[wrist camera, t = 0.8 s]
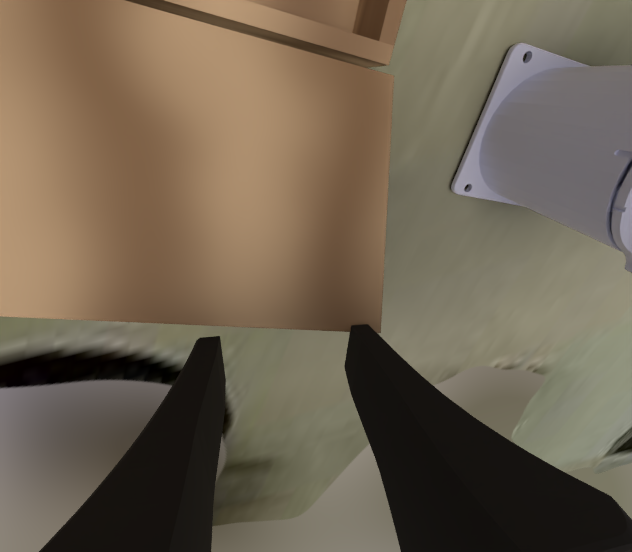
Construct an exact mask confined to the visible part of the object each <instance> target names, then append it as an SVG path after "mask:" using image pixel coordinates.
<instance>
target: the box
mask: <svg viewBox="0 0 632 552" xmlns="http://www.w3.org/2000/svg"><path fill="white" fill-rule="evenodd" d="M125 1H129V2H132V3H136V4H139V5H143V6H147V7H150V8H154V9H157V10H161V11H164V12H168V13H172V14H175V15H179V16H182V17H186V18H189V19H193V20H197V21H200V22H204V23H207V24H211V25H214V26H218V27H222V28H225V29H229V30H232V31H236V32H239V33H243V34H247V35H250V36H254V37H257V38H261V39H264V40H268V41H271V42H275V43H279V44H282V45H286V46H289V47H293V48H296V49H300V50H304V51H307V52H311V53H314V54H318V55H321V56H325V57H329V58H332V59H336V60H339V61H343V62H346V63H350V64H354V65H357V66H361V67H364V68H368V67H377V66H387V65H389V63H390V59H391V55H392V52H393V48H394V44H395V41H396V37H397V33H398V30H399V26H400V22H401V19H402V15H403V11H404V8H405V4H406V0H125Z"/></svg>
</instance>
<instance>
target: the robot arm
mask: <svg viewBox="0 0 632 552" xmlns="http://www.w3.org/2000/svg"><path fill="white" fill-rule="evenodd" d="M525 53H526V54H527V57H526V60H525V61H524V62H523V56H524V54H525ZM467 184H468V188H467V189H466V190H464V188H465V186H466V185H467ZM451 190H452V191H453V192H454V193H456V194H459V195H465V196H470V197H475V198H481V199H486V200H492V201H497V202H503V203H508V204H514V205H519V206H524V207H526V208H529V209H531V210H533V211H535V212H537V213H539V214H541V215H544V216H546V217H548V218H550V219H552V220H554V221H557V222H559V223H561V224H563V225H565V226H567V227H570V228H572V229H574V230H576V231H578V232H580V233H583V234H585V235H587V236H589V237H591V238H593V239H595V240H598V241H600V242H602V243H604V244H606V245H608V246H611V247H613V248H615V249H617V250H619V251H622V252H623V253H624V254H625V256H626V265H625V269H626V270H627V271H629V272H631V273H632V65H615V66H588V65H585V64H582V63H580V62H577V61H574V60H571V59H568V58H565V57H563V56H560V55H557V54H554V53H551V52H548V51H546V50H543V49H540V48H537V47H534V46H531V45H529V44H526V43H517V44H515V45H513V46H512V47H511V48H510V49H509V51H508V53H507V55H506V58H505V60H504V62H503V65H502V67H501V69H500V72H499V74H498V76H497V79H496V81H495V83H494V86H493V88H492V91H491V93H490V95H489V98H488V100H487V102H486V105H485V107H484V109H483V112H482V114H481V116H480V119H479V121H478V124H477V126H476V128H475V131H474V133H473V135H472V138H471V140H470V142H469V145H468V147H467V150H466V152H465V154H464V157H463V159H462V161H461V164H460V166H459V168H458V171H457V173H456V175H455V178H454V180H453V183H452V186H451ZM345 371H346V375H347V379H348V383H349V387H350V391H351V395H352V398H353V400H354V403H355V406H356V408H357V411H358V414H359V416H360V419H361V422H362V424H363V427H364V430H365V432H366V435H367V438H368V440H369V443H370V445H371V448H372V451H373V453H374V456H375V458H376V462H377V465H378V468H379V471H380V474H381V478H382V481H383V485H384V488H385V492H386V496H387V499H388V503H389V507H390V510H391V514H392V518H393V522H394V525H395V529H396V533H397V537H398V541H399V545H400V549H401V552H632V519H631V518H630V517H629V516H628V515H627V514H626V513H625V511H624V510H623V509H622V508H621V507H620V506H619V505H618V504H617V502H616V501H615V500H614V499H613V498H612V497H611V496H609V495H607V494H605V493H604V492H601V491H600V490H598V489H596V488H594V487H592V486H590V485H588V484H586V483H584V482H582V481H580V480H578V479H576V478H574V477H572V476H570V475H568V474H567V473H565V472H563V471H561V470H559V469H557V468H555V467H554V466H552V465H550V464H548V463H547V462H545V461H543V460H541V459H540V458H538V457H536V456H534V455H533V454H531V453H529V452H527V451H526V450H524V449H522V448H521V447H519V446H517V445H516V444H514V443H512V442H511V441H509V440H508V439H506V438H505V437H503V436H501V435H500V434H498V433H497V432H495V431H494V430H492V429H490V428H489V427H488V426H486V425H485V424H483V423H482V422H480V421H479V420H477V419H476V418H474V417H473V416H471V415H470V414H469V413H467V412H466V411H465V410H463V409H462V408H461V407H459V406H458V405H457V404H455V403H454V402H452V401H451V400H450V399H449V398H447V397H446V396H445V395H444V394H442V393H441V392H440V391H439V390H437V389H436V388H435V387H434V386H433V385H432V384H430V383H429V382H428V381H427V380H426V379H424V378H423V377H422V376H421V375H420V374H419V373H418V372H417V371H415V370H414V369H413V368H412V367H411V366H410V365H409V364H408V363H407V362H406V361H405V360H404V359H403V358H402V357H401V356H400V355H398V354H397V353H396V352H395V351H394V350H393V349H392V348H391V347H390V346H389V345H388V344H387V343H386V342H385V341H384V340H383V339H382V338H381V337H380V336H379V335H378V334H377V333H376V332H375V331H374V330H373V329H372V328H371V327H370V326H369V325H368V324H363V325H351V332H350V336H349V342H348V348H347V354H346V361H345ZM225 382H226V379H225V372H224V364H223V357H222V349H221V341H220V336H217V337H204V338H199V339H198V340H197V341H196V343H195V345H194V348H193V350H192V352H191V354H190V356H189V358H188V359H187V361H186V363H185V365H184V367H183V369H182V370H181V372H180V374H179V376H178V377H177V379H176V381H175V382H174V384H173V386H172V387H171V389H170V391H169V392H168V394H167V396H166V397H165V399H164V400H163V402H162V403H161V405H160V406H159V408H158V409H157V411H156V412H155V414H154V415H153V417H152V418H151V419H150V421H149V422H148V424H147V425H146V427H145V428H144V430H143V431H142V432H141V434H140V435H139V436H138V438H137V439H136V440H135V442H134V443H133V444H132V446H131V447H130V448H129V450H128V451H127V452H126V454H125V455H124V456H123V457H122V459H121V460H120V461H119V462H118V464H117V465H116V466H115V467H114V469H113V470H112V471H111V472H110V473H109V475H108V476H107V477H106V478H105V480H104V481H103V482H102V483H101V484H100V485H99V487H98V488H97V489H96V490H95V491H94V492H93V494H92V495H91V496H90V497H89V498H88V499H87V501H86V502H85V503H84V504H83V505H82V506H81V507H80V508H79V509H78V511H77V512H76V513H75V514H74V515H73V516H72V517H71V518H70V519H69V520H68V521H67V523H66V524H65V525H64V526H63V527H62V528H61V529H60V530H59V531H58V532H57V533H56V534H55V535H54V537H52V538H51V540H50V541H49V542H48V543H47V544H46V545H45V546H44V547H43V548H42V549H41V550H40V551H39V552H211V541H212V520H213V500H214V490H215V481H216V473H217V465H218V458H219V450H220V443H221V436H222V428H223V420H224V412H225Z"/></svg>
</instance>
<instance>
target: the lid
mask: <svg viewBox="0 0 632 552" xmlns="http://www.w3.org/2000/svg"><path fill="white" fill-rule="evenodd" d="M393 86H394V76H393V75H389V74H386V73H382V72H379V71H375V70H371V69H368V68H364V67H361V66H357V65H354V64H350V63H346V62H343V61H339V60H336V59H332V58H329V57H325V56H321V55H318V54H314V53H311V52H307V51H304V50H300V49H296V48H293V47H289V46H286V45H282V44H279V43H275V42H271V41H268V40H264V39H261V38H257V37H254V36H250V35H247V34H243V33H239V32H236V31H232V30H229V29H225V28H222V27H218V26H214V25H211V24H207V23H204V22H200V21H197V20H193V19H189V18H186V17H182V16H179V15H175V14H172V13H168V12H164V11H161V10H157V9H154V8H150V7H147V6H143V5H139V4H136V3H132V2H129V1H125V0H0V316H5V317H28V318H51V319H73V320H96V321H119V322H141V323H164V324H186V325H209V326H232V327H254V328H277V329H300V330H322V331H345V332H351V325H363V324H368V325H369V326H370V327H371V328H372V329H373V330H374V331H375V332H376V333H381V316H382V297H383V278H384V258H385V239H386V220H387V201H388V182H389V163H390V143H391V124H392V105H393Z"/></svg>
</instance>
